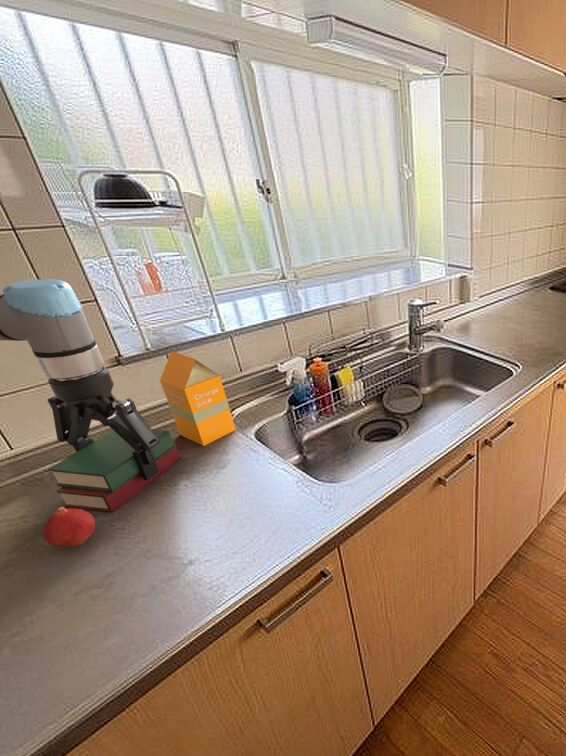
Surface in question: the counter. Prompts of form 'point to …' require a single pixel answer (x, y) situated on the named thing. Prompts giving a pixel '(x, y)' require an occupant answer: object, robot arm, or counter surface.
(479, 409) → the counter surface
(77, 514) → the pomegranate
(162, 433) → the green book
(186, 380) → the orange juice
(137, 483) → the burgundy book
